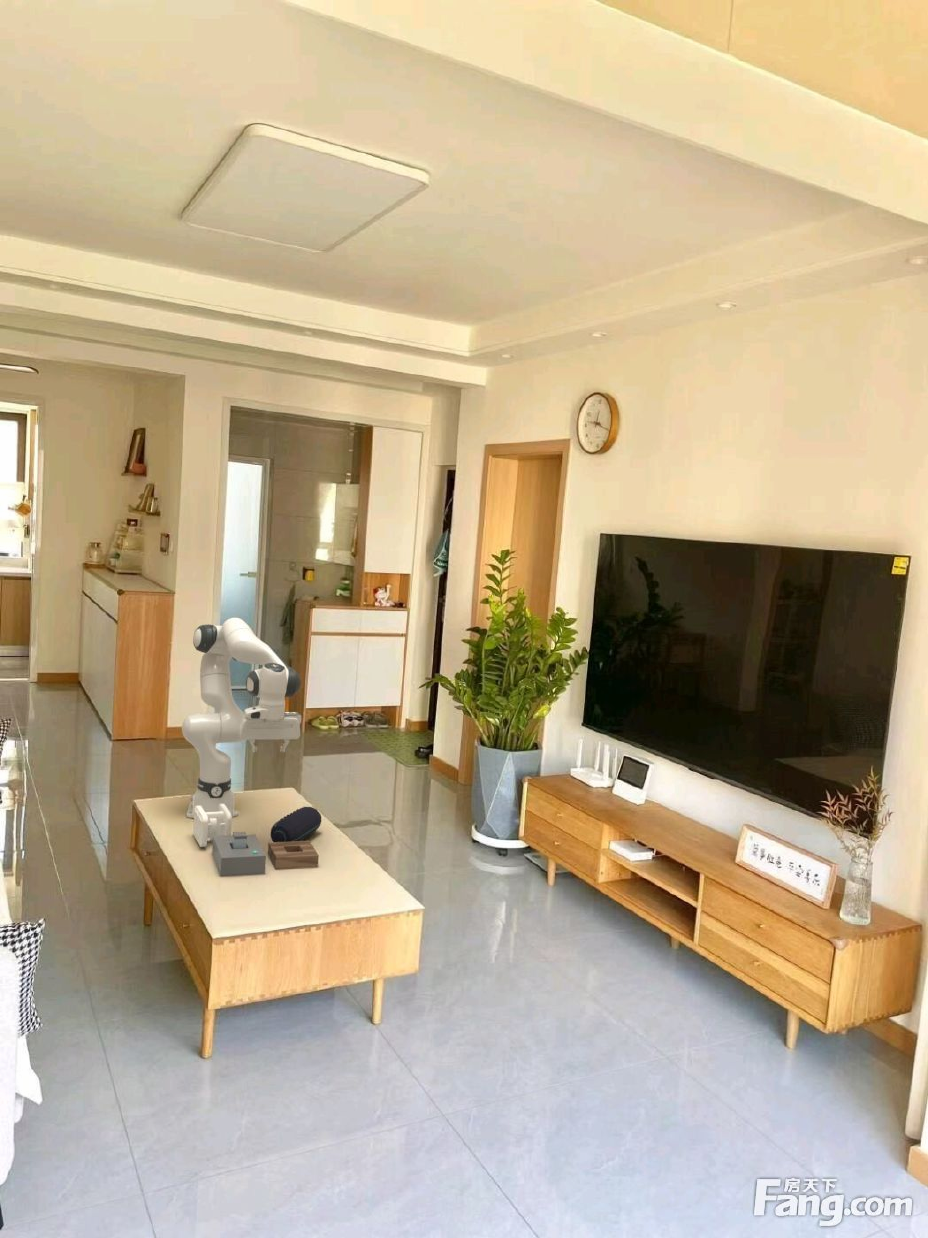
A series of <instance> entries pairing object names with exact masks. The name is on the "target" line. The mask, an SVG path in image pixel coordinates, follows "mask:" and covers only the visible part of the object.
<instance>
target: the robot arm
mask: <svg viewBox="0 0 928 1238" xmlns="http://www.w3.org/2000/svg"><path fill="white" fill-rule="evenodd" d="M192 641H193V646H194V648H195V650H196V651H199V652H201V653H204V654H203V655H202V656H201V660H200V668H199V669H200V670H199V680H200V683H199V684H200V698H201V700H202V701H203V702H204V703H205V704H206V705H208V706H210V707H212V708H214V710H216V712H209V713H208V712H199V713H195V714H189V715H187V717H185V719H184V720H183V721H182V725H181V734H182V736H183V738H184V739H185V740H186V741H187V742H188V743H190V744H191V745H192V747H194V749H195V750H196V752H197V754H198V759H199V777H198V780H197V788H196V790H195V793H194V794H190V797H189V800H190V802H189V805H188V808H187V812H186V817H187V818H190V819H194V808H195V806H202V808H203V810H204V811H205V812H218V810H219V804H225V806H226V807H227V809H228V810H229V811H230V813H231V816H232V818H233V817H236V816H238V815H239V812H238V810H236V809H235V793H234V792H233V791H232V790H231V788H232V779H231V773H232V772H231V770H232V759H231V757H230V756H229V755H228V754H227V753H226V752H224V751H222V750H219V749H217V747H216V746H217V744H220V743H221V744H223V743H225V744H226V743H229V744H230V743H239V742H243V741H247V740H248V741H249V743H250V745H251V746H252V747H251V748H252V749H251V752H252V753H258V748H259V747H258V745H255V742H256V740H260V741H261V740H263V741H264V740H266V741H267V740H270V741H271V740H283V741H284V743H283V745H280V746H279V751H280V753H285V752H286V748H287V747H288V745H289V743H290V740H299V738H300V737H301V724H302V715H301V714H300V713H299V712H297V711H293V712H292V711H286V700H285V698H293V697H294V696H296V694H297V693H298V692H299V691H300V690H301V689H300V688H301V686H302V685H301V683H302V682H301V681H302V680H301V677H300V675H299V673H298V672H297V671H296V670H295V669H294V668H292V667H291V666H290V665H288V664H287V662H285V660H284V658H282V657H281V655H279V653H278V651H276V650H275V649H274V648H273V647H272V646H270V645H269V644H266V643H265V642H264V641H263V640H261V639H260V638H259V637H258V636H256V634H255V633H254V631H253V630H252V628H251V627H250V626H249V624H248V623H246V622H245V620H243V619H242V618H241V617H240V618H239V617H230V618H227V620H225V621H224V622H223V624H222V625H217V624H215V625H213V624H201V625H199V626H198V627H197V628H196V629H195V631H194V634H193V639H192ZM232 659H233V660H234V661H235V662H236V661H237V662H240V663H243V664H244V663H245V664H254V665H258V666H259V665H260V666H262V667H261V668H258V669H253V670H251V671H250V672H249V673H248V675H247V677H246V680H245V681H246V683H245V687H246V688H245V689H246V692H247V693H249V695H251V696H252V697H254V698H259V701H258V704H257V705H255V706H251V707H248V708H247V707H246V709H244V710H241V708H240V707H239V705H238V704H237V703H236V702H235V699H234V696H233V692H232V684H231V683H232V682H231V670H230V662H231V661H232Z"/></svg>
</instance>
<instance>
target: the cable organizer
mask: <svg viewBox="0 0 928 1238" xmlns="http://www.w3.org/2000/svg"><path fill="white" fill-rule="evenodd" d="M232 819H233V817H232V816H231V813H230V811H229V810H228V809H227V807H226V806H225V804H219V810H218V812H205V811H204V810H203V808H202V806H195V808H194V818H193V831H192V833H193V836H194V838H195V840H196V842H197V844H198V845H199V847H200V848H206V847H207V844H208V842H211V840H213V836H228V835H231V832H232V821H233V820H232Z"/></svg>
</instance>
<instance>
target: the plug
mask: <svg viewBox="0 0 928 1238" xmlns="http://www.w3.org/2000/svg"><path fill="white" fill-rule="evenodd" d="M232 835H233V836H232V849H245V848H246V845H247V835H248V834H247V833H246V831H232Z"/></svg>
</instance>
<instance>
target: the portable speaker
mask: <svg viewBox="0 0 928 1238" xmlns="http://www.w3.org/2000/svg"><path fill="white" fill-rule="evenodd" d="M321 824H322V815H321V813H320V812H319V810H318V809H316V808H315V807H313V806H302V807H299V808H298V809H296V810H294V811H293V812H291V813H289V814H287V815H286V816H283V818H280V819H279V820H278V821H276V822H274V824H273V825H272V826H271V829H270V838H271V842H290V841H304V840H305V839H306V838H307V837H309V836H311V835H312V834H314V833H315V832H316V831H317V830H318V829H319V828H320V826H321Z"/></svg>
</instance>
